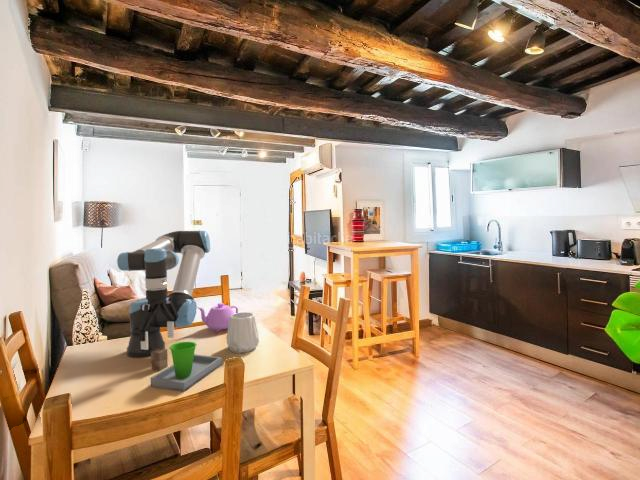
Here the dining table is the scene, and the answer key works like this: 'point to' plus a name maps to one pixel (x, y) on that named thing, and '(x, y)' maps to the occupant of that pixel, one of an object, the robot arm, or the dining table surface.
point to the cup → (183, 358)
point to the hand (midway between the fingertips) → (158, 343)
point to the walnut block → (159, 359)
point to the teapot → (218, 317)
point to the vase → (242, 332)
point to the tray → (199, 371)
